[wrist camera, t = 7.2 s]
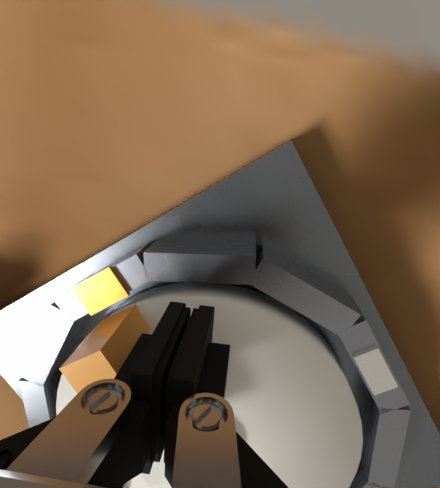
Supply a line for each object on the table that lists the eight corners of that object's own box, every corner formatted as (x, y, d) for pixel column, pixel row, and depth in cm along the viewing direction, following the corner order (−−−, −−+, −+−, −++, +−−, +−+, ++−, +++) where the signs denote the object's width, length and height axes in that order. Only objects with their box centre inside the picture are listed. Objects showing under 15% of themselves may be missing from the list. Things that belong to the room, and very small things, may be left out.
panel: (445, 452, 18) (490, 523, 14) (164, 535, 22) (148, 604, 19) (288, 141, 14) (298, 139, 11) (-13, 317, 18) (-72, 354, 15)
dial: (394, 469, 16) (450, 598, 12) (163, 531, 19) (134, 651, 15) (271, 227, 13) (279, 269, 9) (23, 347, 16) (-68, 425, 12)
